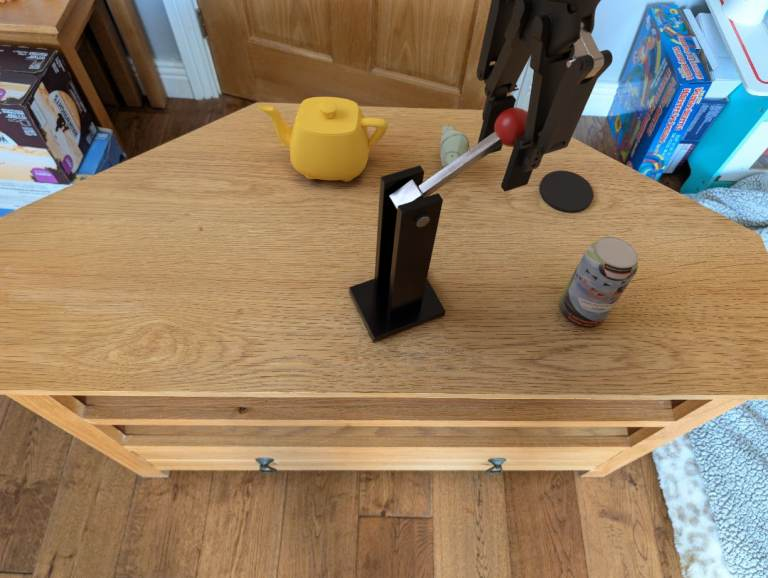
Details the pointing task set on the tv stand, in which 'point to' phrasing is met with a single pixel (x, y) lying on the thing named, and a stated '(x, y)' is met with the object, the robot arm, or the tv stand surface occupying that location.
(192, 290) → the tv stand surface
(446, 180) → the lever
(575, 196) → the coaster
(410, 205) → the bracket
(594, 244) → the beverage can
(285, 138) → the teapot
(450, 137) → the pale green rounded lump
